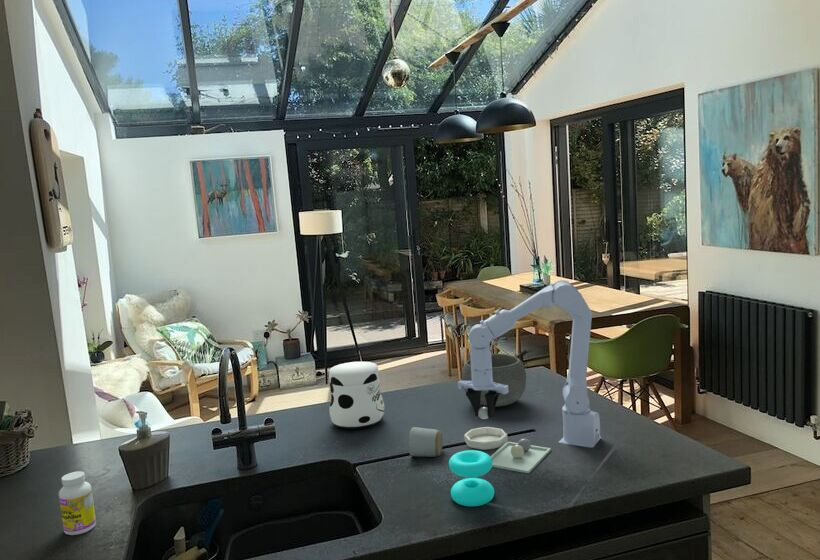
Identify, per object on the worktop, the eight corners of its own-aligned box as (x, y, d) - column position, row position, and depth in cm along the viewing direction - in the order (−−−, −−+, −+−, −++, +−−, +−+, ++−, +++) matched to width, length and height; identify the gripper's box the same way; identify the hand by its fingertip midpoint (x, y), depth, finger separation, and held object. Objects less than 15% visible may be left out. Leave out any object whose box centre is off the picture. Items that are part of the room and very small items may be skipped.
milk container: (396, 422, 200) (391, 367, 198) (347, 437, 191) (342, 379, 189) (367, 410, 215) (363, 357, 212) (321, 423, 205) (316, 368, 203)
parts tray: (551, 452, 169) (550, 448, 169) (528, 475, 157) (528, 471, 157) (507, 445, 176) (507, 441, 176) (483, 467, 163) (482, 462, 163)
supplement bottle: (57, 536, 144) (49, 482, 142) (77, 521, 151) (69, 469, 149) (84, 536, 143) (76, 482, 141) (102, 521, 149) (95, 469, 148)
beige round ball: (526, 456, 167) (525, 443, 166) (521, 461, 164) (520, 448, 164) (514, 454, 169) (513, 441, 168) (508, 459, 166) (508, 446, 165)
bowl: (533, 413, 200) (530, 366, 198) (465, 417, 200) (462, 371, 198) (522, 392, 221) (519, 350, 219) (461, 396, 221) (458, 354, 219)
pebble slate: (533, 449, 171) (532, 437, 170) (528, 454, 168) (527, 442, 167) (521, 447, 172) (520, 435, 172) (516, 452, 170) (515, 440, 169)
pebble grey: (492, 417, 178) (491, 405, 178) (487, 421, 176) (486, 409, 175) (481, 416, 180) (480, 404, 180) (476, 420, 177) (475, 408, 177)
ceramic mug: (438, 461, 169) (437, 433, 168) (408, 460, 171) (406, 432, 170) (446, 446, 179) (444, 419, 178) (418, 445, 181) (416, 419, 180)
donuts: (439, 456, 148) (473, 444, 153) (442, 497, 149) (476, 484, 154) (466, 470, 139) (501, 457, 145) (469, 513, 141) (503, 499, 146)
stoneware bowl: (512, 438, 181) (512, 430, 180) (495, 453, 171) (495, 444, 171) (477, 433, 187) (476, 425, 186) (458, 447, 177) (458, 438, 177)
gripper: (451, 369, 177) (454, 417, 179) (499, 374, 169) (502, 424, 171) (463, 363, 183) (466, 409, 184) (510, 367, 175) (513, 415, 177)
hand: (484, 415), depth 178 cm, fingers closed on pebble grey, 3 cm apart
